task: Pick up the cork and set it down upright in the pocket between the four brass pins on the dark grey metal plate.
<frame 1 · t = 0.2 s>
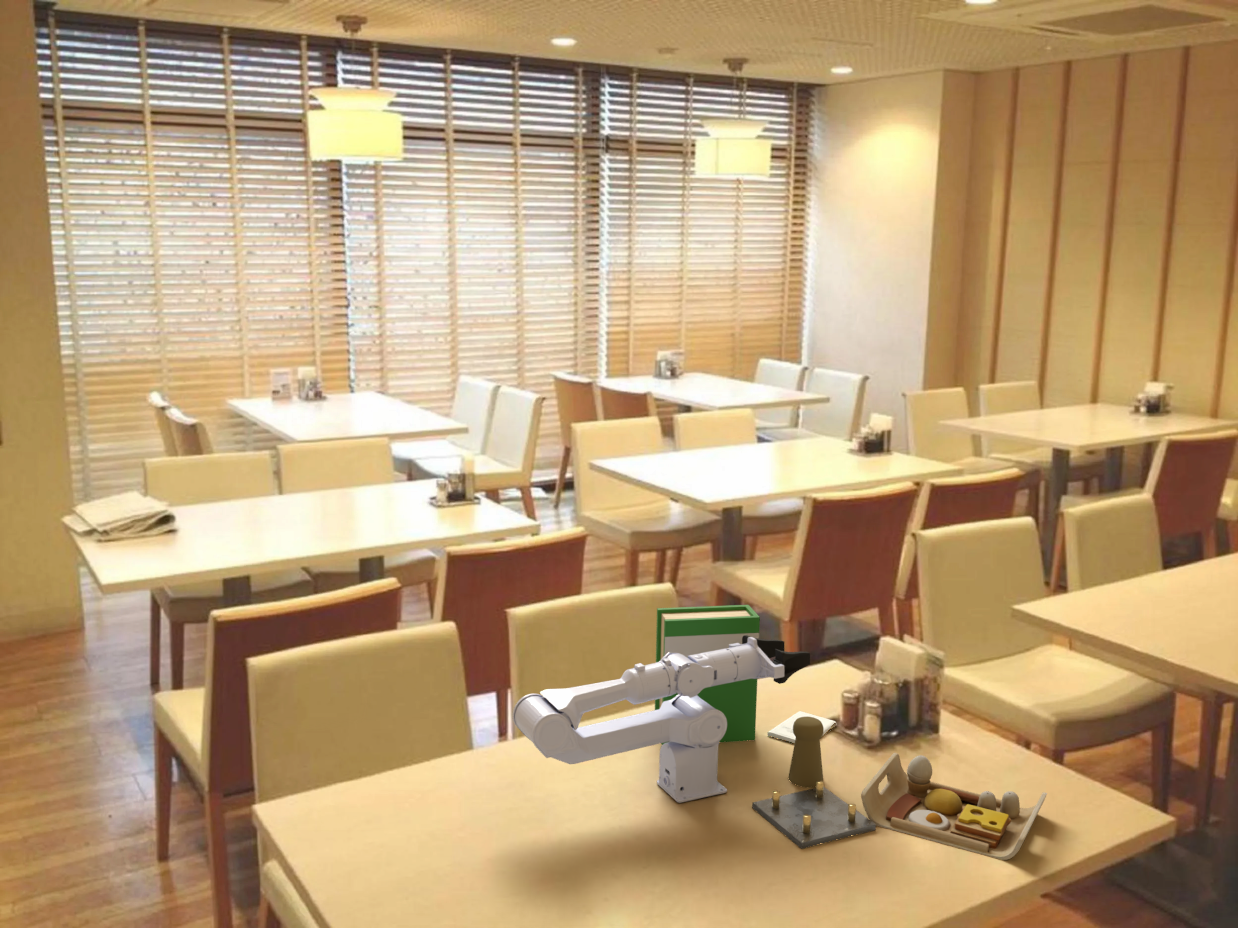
hand: (795, 652, 194), 21 cm above the table, tool horizontal, fingers open, 7 cm apart
external hard drive: (801, 734, 213), on the table
chassis plate: (812, 818, 180), on the table
toy food set: (952, 821, 181), on the table
hardback book: (704, 735, 211), on the table
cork: (805, 780, 193), on the table
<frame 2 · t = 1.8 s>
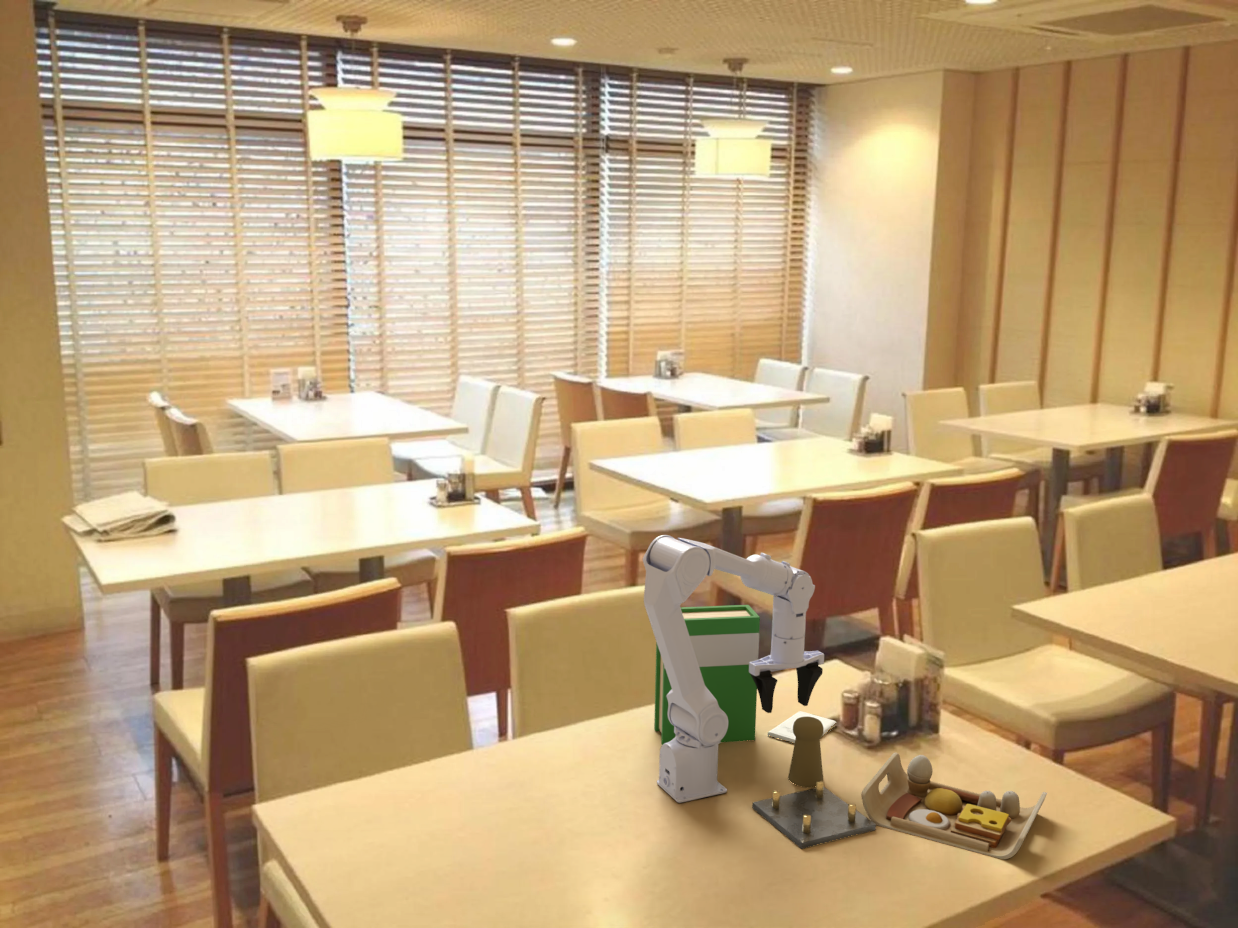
hand: (784, 707, 198), 10 cm above the table, tool pointing down, fingers open, 7 cm apart
nothing on the table moved.
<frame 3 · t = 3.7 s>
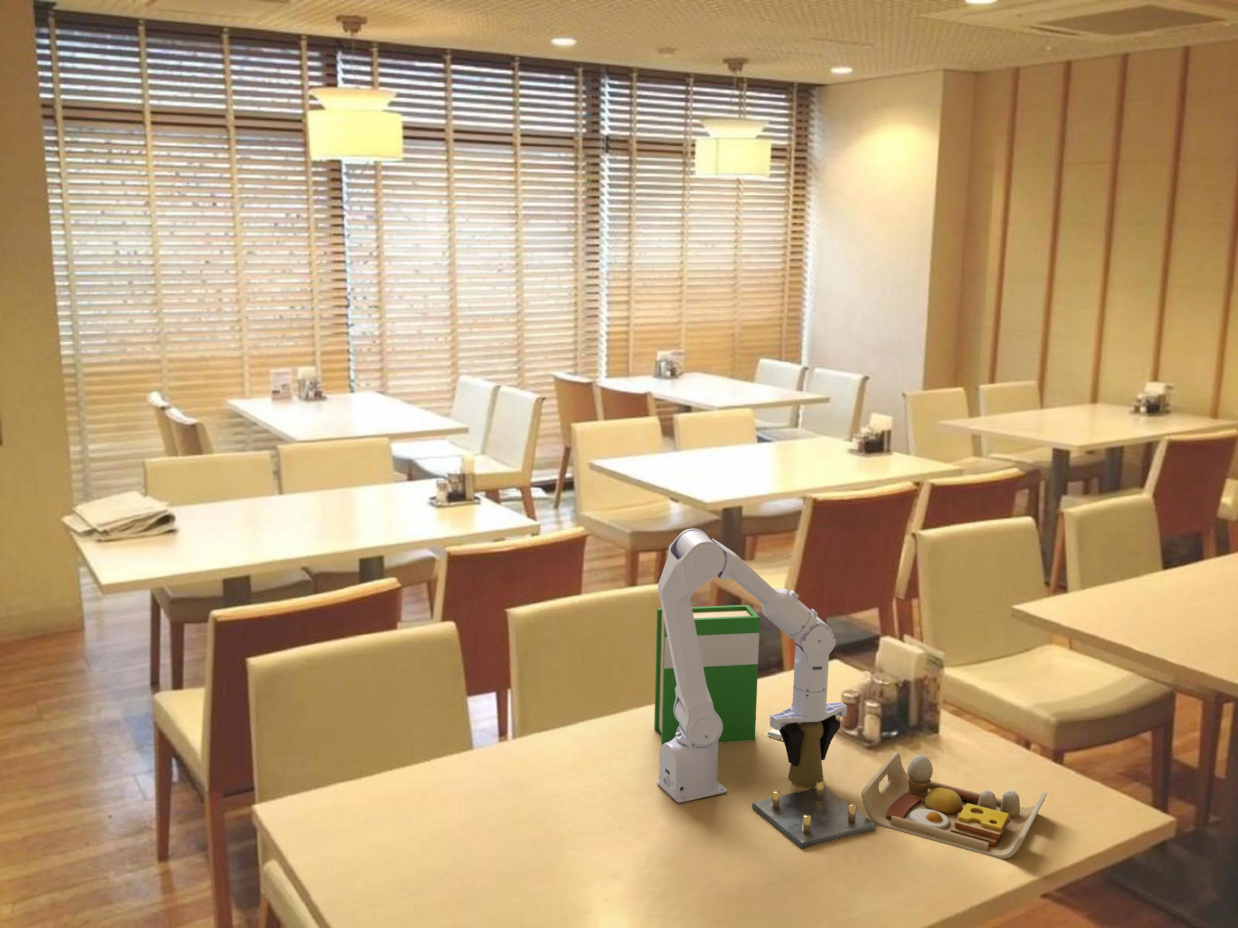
hand: (806, 760, 193), 3 cm above the table, tool pointing down, fingers closed on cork, 5 cm apart
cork: (805, 780, 193), on the table, touching gripper
everything else where it was.
when the fingers open (6 cm above the table, at t = 7.4 s): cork stays where it is, resting on chassis plate.
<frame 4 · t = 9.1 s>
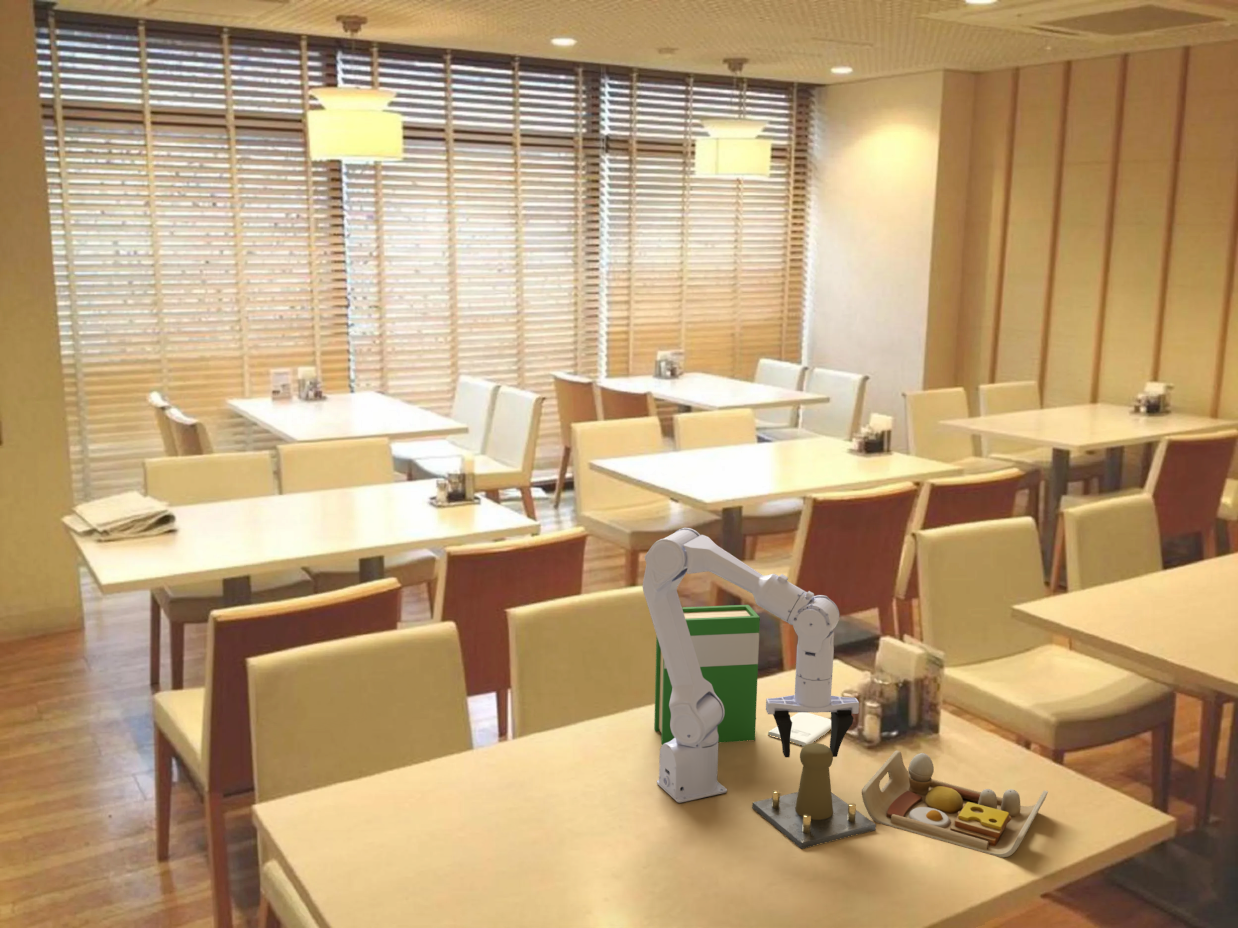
hand: (809, 754, 179), 10 cm above the table, tool pointing down, fingers open, 7 cm apart
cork: (814, 811, 180), point 1 cm above the table, touching chassis plate, gripper
everything else where it was.
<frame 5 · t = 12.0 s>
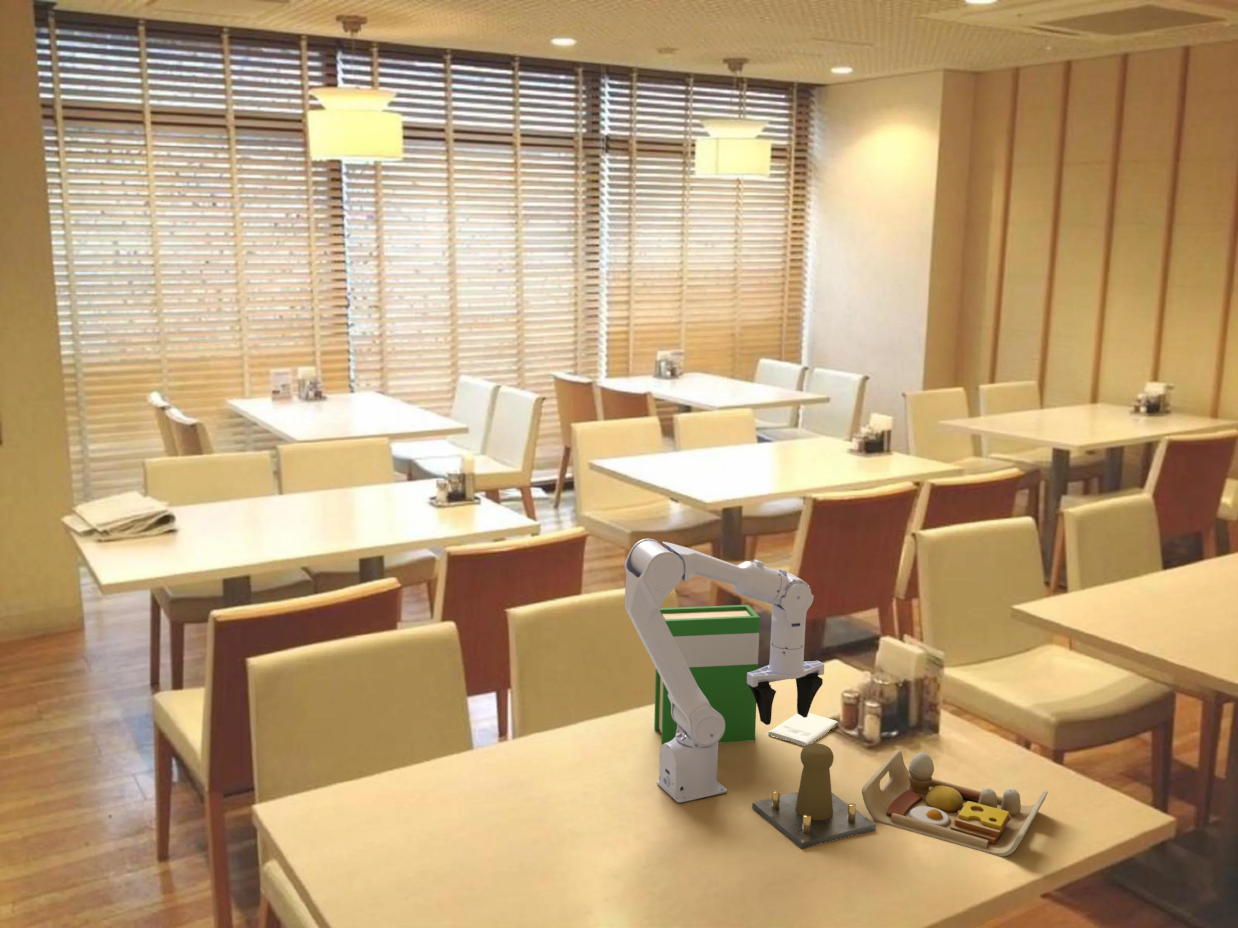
hand: (783, 718, 193), 10 cm above the table, tool pointing down, fingers open, 7 cm apart
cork: (814, 811, 180), point 1 cm above the table, touching chassis plate
at the end: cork 0.8 cm off-centre on the chassis plate, point 0.8 cm above the chassis plate's base; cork tilted 0°; the gripper is holding nothing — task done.
